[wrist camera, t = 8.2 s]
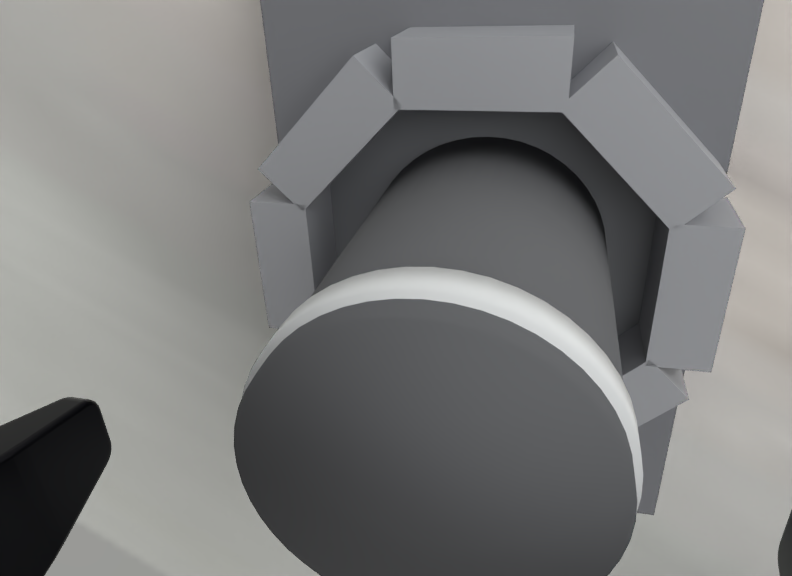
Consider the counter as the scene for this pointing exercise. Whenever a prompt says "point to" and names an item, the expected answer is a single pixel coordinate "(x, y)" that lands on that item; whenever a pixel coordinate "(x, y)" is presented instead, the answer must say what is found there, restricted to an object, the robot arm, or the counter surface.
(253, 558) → the counter surface
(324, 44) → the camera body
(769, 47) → the counter surface
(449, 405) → the lens
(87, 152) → the counter surface
